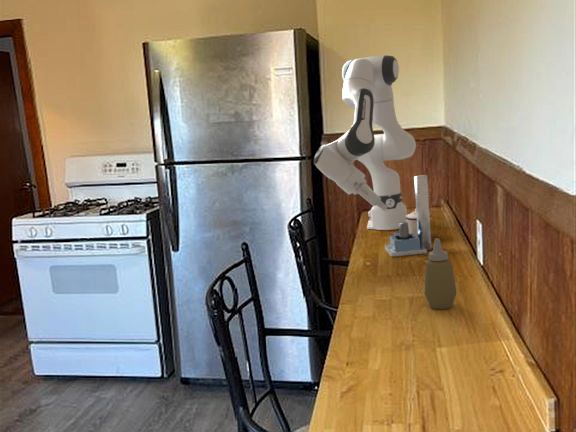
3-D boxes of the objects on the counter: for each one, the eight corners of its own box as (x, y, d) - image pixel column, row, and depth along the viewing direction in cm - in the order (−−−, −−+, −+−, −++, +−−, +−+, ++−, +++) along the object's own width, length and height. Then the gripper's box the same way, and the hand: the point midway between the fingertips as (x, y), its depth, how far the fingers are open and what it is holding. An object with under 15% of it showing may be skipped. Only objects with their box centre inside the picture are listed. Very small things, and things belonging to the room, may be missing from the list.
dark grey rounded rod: (399, 250, 213) (397, 222, 212) (409, 249, 213) (407, 221, 212) (401, 252, 210) (399, 224, 208) (411, 251, 210) (409, 223, 208)
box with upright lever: (381, 244, 224) (376, 175, 219) (422, 240, 224) (418, 171, 219) (391, 256, 206) (385, 182, 201) (435, 252, 206) (431, 177, 201)
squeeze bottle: (426, 312, 151) (422, 243, 148) (423, 301, 159) (419, 236, 156) (459, 310, 150) (455, 241, 147) (455, 300, 158) (451, 234, 155)
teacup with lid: (432, 240, 222) (430, 210, 219) (407, 242, 224) (405, 211, 221) (431, 233, 233) (429, 204, 231) (407, 234, 235) (405, 205, 233)
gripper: (363, 178, 196) (395, 204, 198) (355, 171, 216) (384, 194, 218) (351, 193, 197) (383, 219, 199) (344, 184, 217) (372, 208, 219)
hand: (383, 206), depth 209 cm, fingers open, 8 cm apart
